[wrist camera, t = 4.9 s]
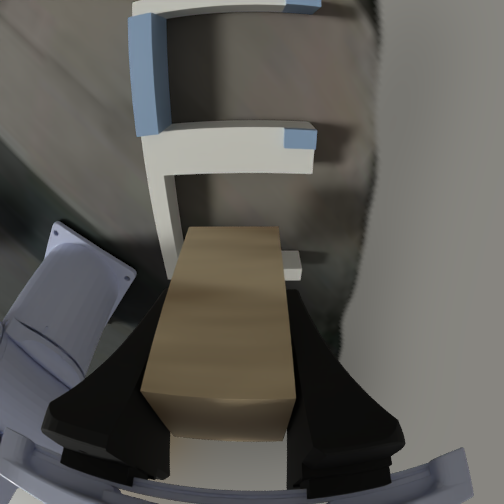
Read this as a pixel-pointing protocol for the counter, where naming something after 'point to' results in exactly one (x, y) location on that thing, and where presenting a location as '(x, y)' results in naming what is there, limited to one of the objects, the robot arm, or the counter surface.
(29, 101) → the counter surface
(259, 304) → the plug block
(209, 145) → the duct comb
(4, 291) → the counter surface
